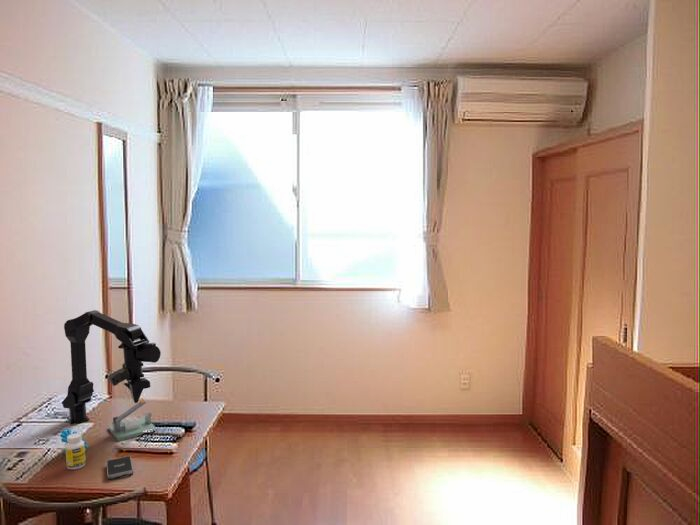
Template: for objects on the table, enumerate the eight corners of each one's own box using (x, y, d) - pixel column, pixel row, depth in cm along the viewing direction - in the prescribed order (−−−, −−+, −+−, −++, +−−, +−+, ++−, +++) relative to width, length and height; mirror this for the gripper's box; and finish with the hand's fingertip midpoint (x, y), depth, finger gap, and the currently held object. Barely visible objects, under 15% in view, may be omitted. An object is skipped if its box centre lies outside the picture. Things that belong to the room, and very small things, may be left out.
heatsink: (121, 426, 199) (120, 419, 199) (135, 422, 202) (135, 415, 202) (125, 431, 194) (125, 423, 194) (140, 427, 197) (139, 420, 197)
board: (108, 428, 200) (108, 425, 200) (145, 419, 208) (144, 416, 208) (118, 441, 189) (118, 437, 189) (156, 431, 197) (156, 427, 196)
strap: (118, 422, 194) (115, 419, 194) (116, 420, 196) (114, 417, 195) (146, 403, 199) (143, 399, 199) (144, 401, 201) (142, 398, 201)
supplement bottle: (73, 471, 168) (70, 440, 167) (63, 467, 170) (60, 437, 169) (89, 464, 172) (87, 434, 171) (79, 460, 175) (77, 430, 174)
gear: (80, 453, 176) (57, 432, 176) (67, 467, 176) (44, 446, 176) (95, 443, 187) (74, 423, 187) (83, 456, 187) (61, 436, 187)
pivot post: (112, 432, 196) (111, 417, 196) (118, 431, 198) (117, 416, 197) (115, 436, 193) (114, 421, 192) (121, 434, 194) (120, 419, 194)
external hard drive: (108, 482, 161) (107, 475, 161) (107, 466, 171) (106, 460, 171) (133, 476, 164) (132, 470, 164) (130, 461, 174) (130, 455, 174)
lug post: (145, 425, 203) (144, 410, 202) (148, 424, 203) (147, 409, 203) (148, 428, 199) (147, 413, 199) (152, 427, 200) (151, 412, 199)
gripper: (102, 359, 200) (106, 401, 201) (115, 370, 185) (119, 415, 186) (134, 353, 206) (137, 394, 208) (149, 364, 191) (152, 407, 193)
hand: (135, 402), depth 199 cm, fingers closed
